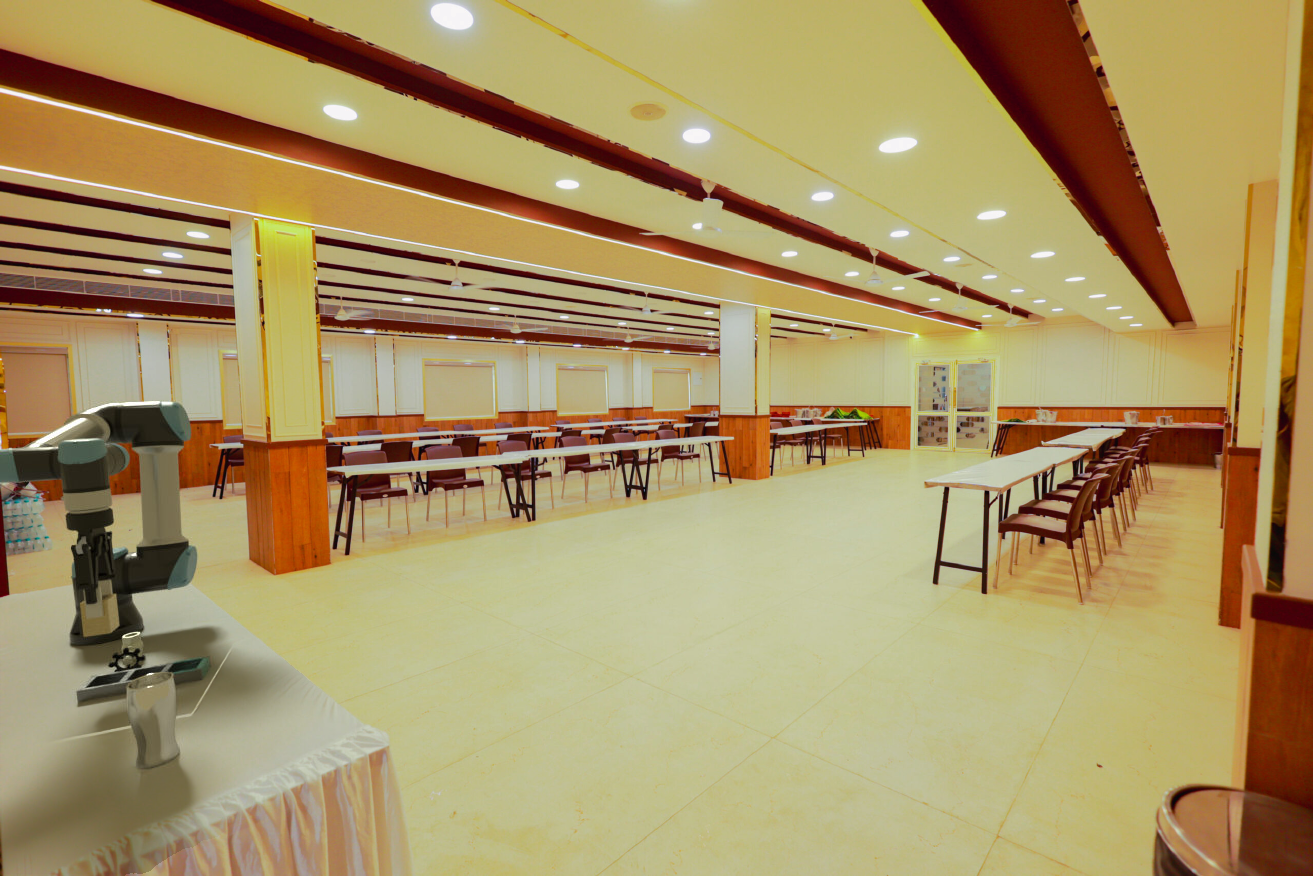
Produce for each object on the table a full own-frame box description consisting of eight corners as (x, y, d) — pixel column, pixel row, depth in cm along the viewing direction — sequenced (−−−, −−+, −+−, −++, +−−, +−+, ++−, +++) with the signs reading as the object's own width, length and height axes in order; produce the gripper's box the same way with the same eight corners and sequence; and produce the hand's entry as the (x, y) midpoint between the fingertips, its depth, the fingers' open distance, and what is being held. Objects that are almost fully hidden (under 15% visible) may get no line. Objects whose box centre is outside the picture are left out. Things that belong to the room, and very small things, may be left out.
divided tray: (93, 688, 136) (91, 675, 135) (210, 668, 145) (209, 655, 144) (77, 704, 129) (76, 690, 129) (202, 681, 138) (200, 669, 138)
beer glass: (152, 748, 113) (144, 672, 111) (191, 745, 113) (184, 670, 112) (122, 772, 106) (114, 691, 104) (164, 769, 106) (156, 688, 105)
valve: (117, 660, 150) (109, 679, 140) (115, 635, 149) (106, 652, 140) (151, 653, 154) (146, 671, 144) (149, 628, 153) (143, 645, 143)
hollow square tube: (93, 629, 134) (89, 596, 133) (119, 625, 136) (116, 592, 135) (83, 637, 130) (79, 602, 129) (110, 633, 131) (107, 599, 131)
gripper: (85, 504, 137) (96, 602, 139) (45, 519, 120) (58, 630, 123) (127, 500, 140) (137, 597, 142) (93, 515, 124) (105, 624, 126)
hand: (100, 612), depth 132 cm, fingers closed on hollow square tube, 5 cm apart
